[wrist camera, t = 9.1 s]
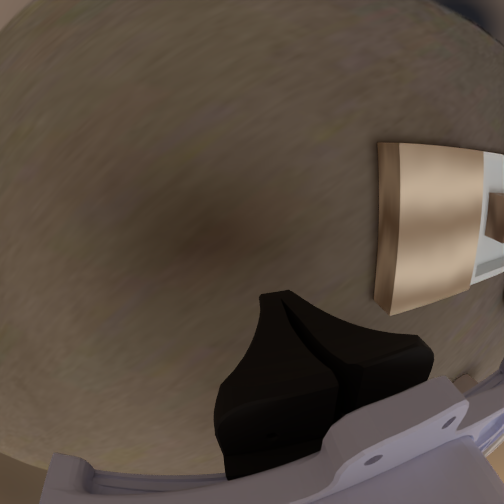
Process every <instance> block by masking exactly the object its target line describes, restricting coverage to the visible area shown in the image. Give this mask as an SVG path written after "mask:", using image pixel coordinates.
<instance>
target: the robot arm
mask: <svg viewBox="0 0 504 504" xmlns="http://www.w3.org/2000/svg"><path fill="white" fill-rule="evenodd" d="M259 301H260V317H259V322H258V325H257V329H256V332H255V335H254V338H253V340H252V342H251V344H250V346H249V348H248V350H247V352H246V354H245V356H244V357H243V359H242V360H241V361H240V363H239V364H238V366H237V367H236V368H235V370H234V371H233V372H232V373H231V374H230V375H229V376H228V377H227V378H226V379H225V380H224V382H223V383H222V384H221V385H220V388H219V392H218V395H217V399H216V403H215V409H214V427H215V435H216V438H217V441H218V443H219V446H220V448H221V451H222V453H223V456H224V465H225V473H218V474H203V475H142V474H128V473H118V472H109V471H101V470H95V469H94V468H93V467H92V466H91V465H90V464H89V463H88V462H87V461H86V460H84V459H82V458H79V457H76V456H71V455H65V454H60V453H53V455H52V459H51V462H50V465H49V468H48V472H47V475H46V479H45V483H44V486H43V490H42V494H41V499H40V503H39V504H504V484H503V482H502V480H501V479H500V478H499V476H498V475H497V473H496V472H495V470H494V469H493V467H492V466H491V465H490V463H489V462H488V460H487V459H486V458H485V456H484V455H483V453H482V452H483V451H485V450H486V449H487V448H488V447H489V446H490V445H491V444H492V443H494V442H495V441H496V440H497V439H498V438H499V437H500V436H501V435H502V434H503V433H504V359H503V360H502V362H501V364H500V367H499V369H498V370H497V371H495V372H494V373H493V374H491V375H490V376H488V377H487V378H486V379H484V380H483V381H481V382H480V383H478V384H477V385H475V386H474V387H472V388H471V389H469V390H468V391H466V392H464V393H463V394H462V393H461V392H460V391H459V390H458V389H457V387H456V386H455V385H454V384H453V383H452V382H451V381H450V380H449V379H448V378H447V377H446V376H440V377H436V378H432V379H429V380H427V379H428V377H429V374H430V372H431V369H432V366H433V362H434V353H433V352H432V350H431V348H430V347H429V346H428V345H427V344H426V343H425V342H424V341H423V340H422V339H421V338H420V337H419V336H418V335H410V334H395V333H388V332H382V331H377V330H372V329H368V328H364V327H361V326H357V325H354V324H351V323H349V322H346V321H343V320H341V319H338V318H336V317H334V316H332V315H330V314H328V313H326V312H324V311H322V310H320V309H319V308H317V307H315V306H313V305H312V304H310V303H309V302H307V301H305V300H304V299H302V298H301V297H299V296H298V295H296V294H295V293H293V292H292V291H290V290H285V291H279V292H273V293H266V294H261V295H260V297H259Z"/></svg>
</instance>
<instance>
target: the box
mask: <svg viewBox="0 0 504 504" xmlns="http://www.w3.org/2000/svg"><path fill="white" fill-rule="evenodd" d="M489 192H490V193H504V155H502V154H496V153H490V152H484V179H483V200H482V213H481V223H480V231H479V239H478V246H477V252H476V258H475V263H474V268H473V273H472V278H471V283H470V285H472V284H474V283H477V282H480V281H482V280H485V279H487V278H490V277H492V276H495V275H497V274H499V273H502V272H504V243H503V244H502V243H500V242H498V241H496V240H494V239H492V238H489V237H487V236H485V229H486V221H487V212H488V202H489Z"/></svg>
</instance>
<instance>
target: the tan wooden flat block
mask: <svg viewBox="0 0 504 504" xmlns="http://www.w3.org/2000/svg"><path fill="white" fill-rule="evenodd" d="M377 146H378V167H379V231H378V252H377V267H376V279H375V289H374V299H373V300H374V301H375V302H376V303H377V304H378V305H379V306H380V307H381V308H382V309H383V310H384V311H385V312H386V313H387V314H388V315H389V316H391V315H395V314H398V313H402V312H405V311H408V310H411V309H414V308H417V307H421V306H424V305H427V304H430V303H433V302H435V301H438V300H441V299H444V298H447V297H450V296H452V295H455V294H458V293H461V292H463V291H466V290H468V289H469V287H470V283H471V278H472V273H473V268H474V263H475V258H476V252H477V246H478V239H479V231H480V223H481V213H482V200H483V179H484V151H478V150H471V149H463V148H455V147H446V146H436V145H424V144H409V143H380V142H377Z"/></svg>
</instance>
